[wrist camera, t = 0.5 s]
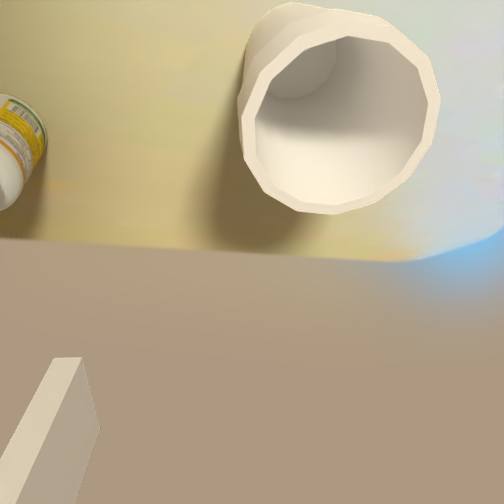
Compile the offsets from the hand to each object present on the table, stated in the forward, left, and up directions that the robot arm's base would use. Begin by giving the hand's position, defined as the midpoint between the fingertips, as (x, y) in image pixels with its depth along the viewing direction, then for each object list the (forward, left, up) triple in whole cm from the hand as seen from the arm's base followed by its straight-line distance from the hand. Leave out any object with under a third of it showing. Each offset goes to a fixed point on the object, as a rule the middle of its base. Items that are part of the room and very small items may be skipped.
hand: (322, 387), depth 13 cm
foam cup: (-4, +2, -26) cm, 26 cm away
